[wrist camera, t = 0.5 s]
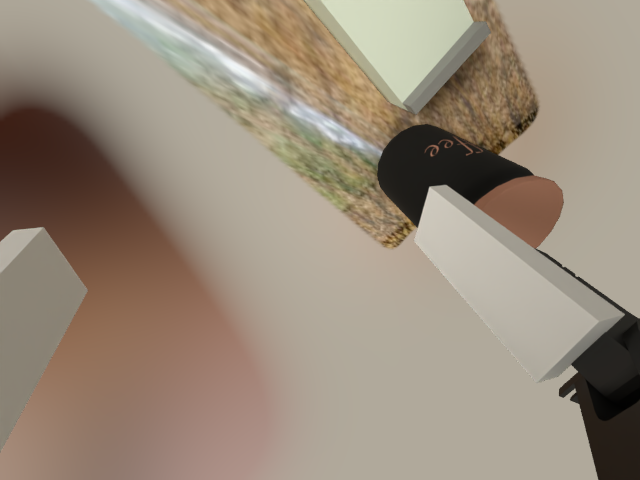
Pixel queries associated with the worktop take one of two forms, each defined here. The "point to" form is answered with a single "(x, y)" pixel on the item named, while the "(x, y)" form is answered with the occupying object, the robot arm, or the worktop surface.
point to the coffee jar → (468, 181)
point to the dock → (403, 42)
